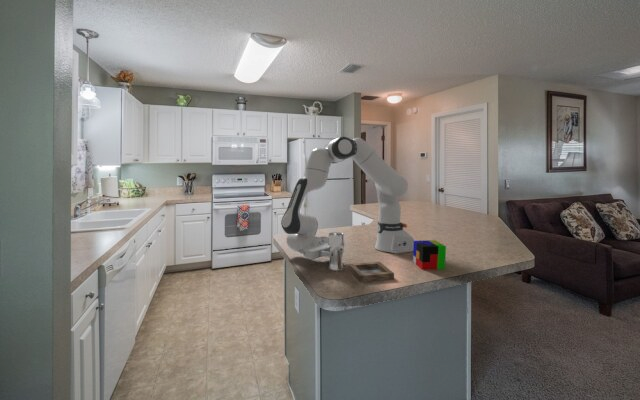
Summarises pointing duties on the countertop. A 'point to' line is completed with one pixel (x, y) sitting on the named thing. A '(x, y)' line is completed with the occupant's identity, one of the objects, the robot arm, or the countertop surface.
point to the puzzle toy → (429, 254)
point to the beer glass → (336, 250)
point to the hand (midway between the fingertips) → (337, 252)
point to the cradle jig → (370, 271)
